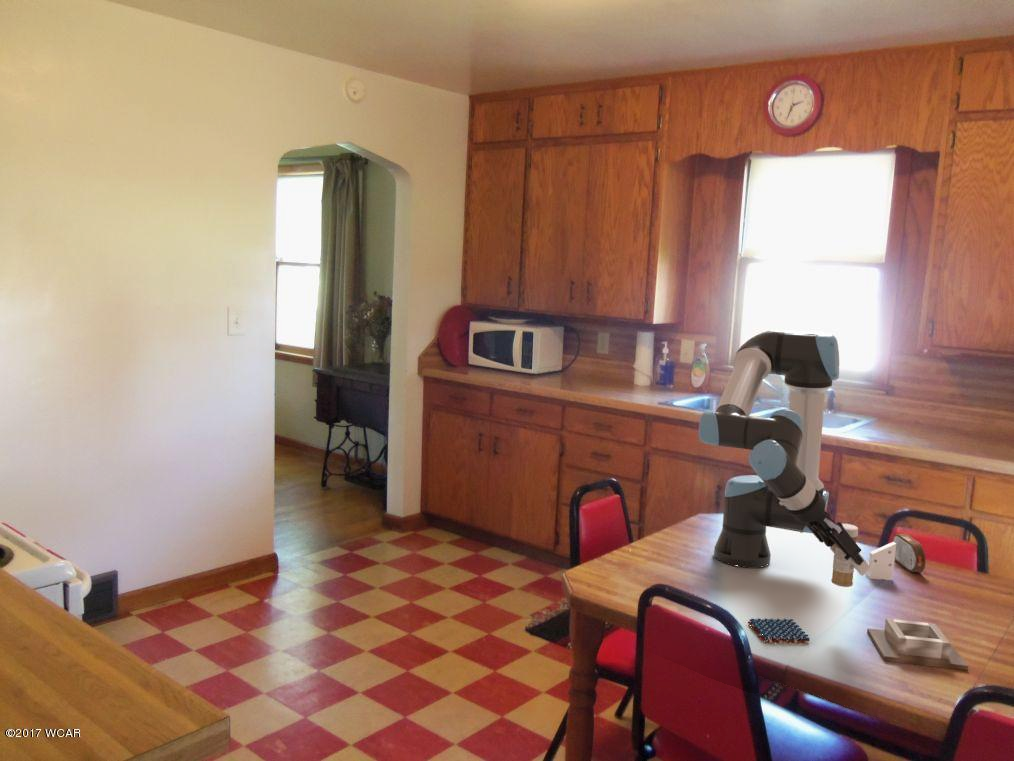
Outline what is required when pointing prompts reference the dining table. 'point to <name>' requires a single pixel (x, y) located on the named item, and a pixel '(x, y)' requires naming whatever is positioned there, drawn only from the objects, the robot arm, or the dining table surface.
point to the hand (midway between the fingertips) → (857, 566)
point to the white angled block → (882, 562)
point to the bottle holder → (915, 644)
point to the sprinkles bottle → (843, 562)
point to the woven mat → (778, 630)
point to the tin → (909, 553)
